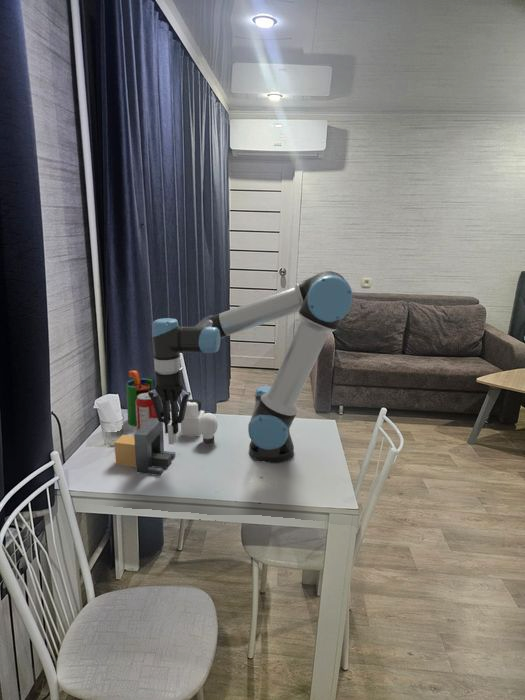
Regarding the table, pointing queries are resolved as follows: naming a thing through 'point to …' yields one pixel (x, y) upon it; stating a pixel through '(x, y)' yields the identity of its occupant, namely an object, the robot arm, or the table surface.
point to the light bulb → (208, 427)
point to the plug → (127, 453)
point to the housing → (149, 446)
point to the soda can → (144, 409)
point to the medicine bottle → (192, 418)
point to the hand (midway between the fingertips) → (172, 442)
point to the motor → (135, 394)
